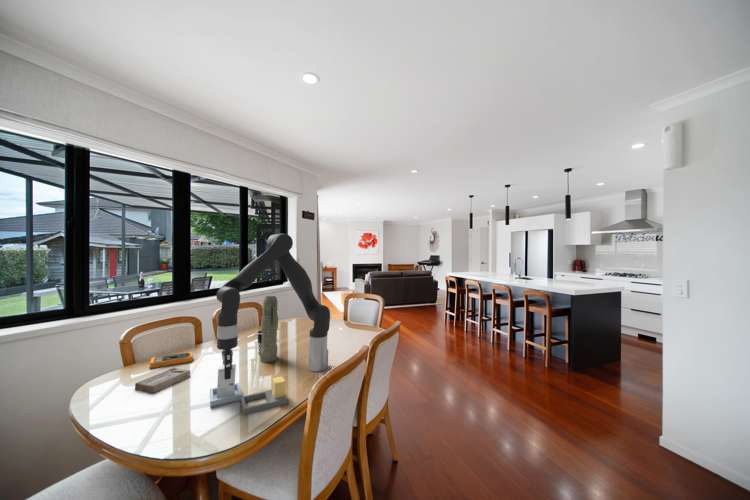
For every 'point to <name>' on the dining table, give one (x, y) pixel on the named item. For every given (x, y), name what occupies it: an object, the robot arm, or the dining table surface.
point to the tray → (225, 400)
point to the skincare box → (225, 382)
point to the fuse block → (267, 397)
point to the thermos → (269, 330)
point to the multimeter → (171, 360)
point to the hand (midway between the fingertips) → (226, 374)
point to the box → (162, 380)
